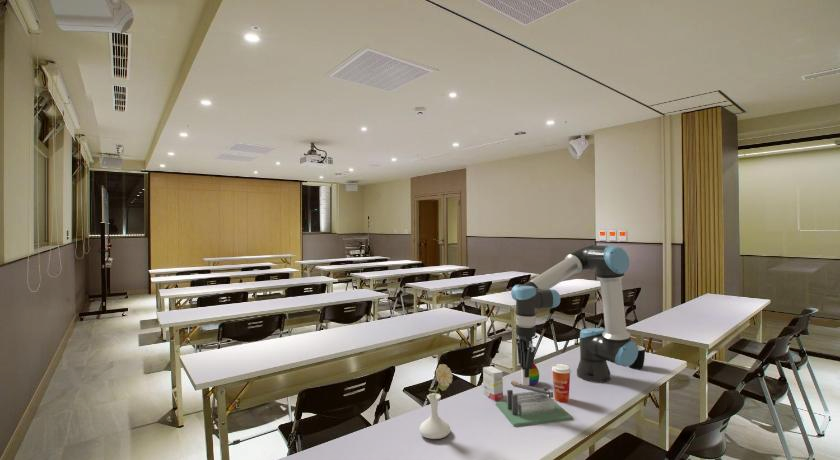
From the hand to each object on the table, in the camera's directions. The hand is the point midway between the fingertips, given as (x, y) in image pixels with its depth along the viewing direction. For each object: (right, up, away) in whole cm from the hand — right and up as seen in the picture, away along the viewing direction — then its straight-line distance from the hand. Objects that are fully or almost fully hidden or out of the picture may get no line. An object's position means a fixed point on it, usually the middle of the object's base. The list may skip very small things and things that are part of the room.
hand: (525, 384), depth 158 cm
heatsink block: (+4, -10, +1) cm, 11 cm away
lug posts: (-5, -12, -1) cm, 13 cm away
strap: (+2, -3, +1) cm, 3 cm away
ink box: (-10, -12, +16) cm, 22 cm away
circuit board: (+3, -11, +1) cm, 12 cm away
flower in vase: (-36, -13, -14) cm, 40 cm away
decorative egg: (+10, -11, +29) cm, 32 cm away
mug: (+68, -9, +47) cm, 83 cm away
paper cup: (+19, -11, +11) cm, 24 cm away
